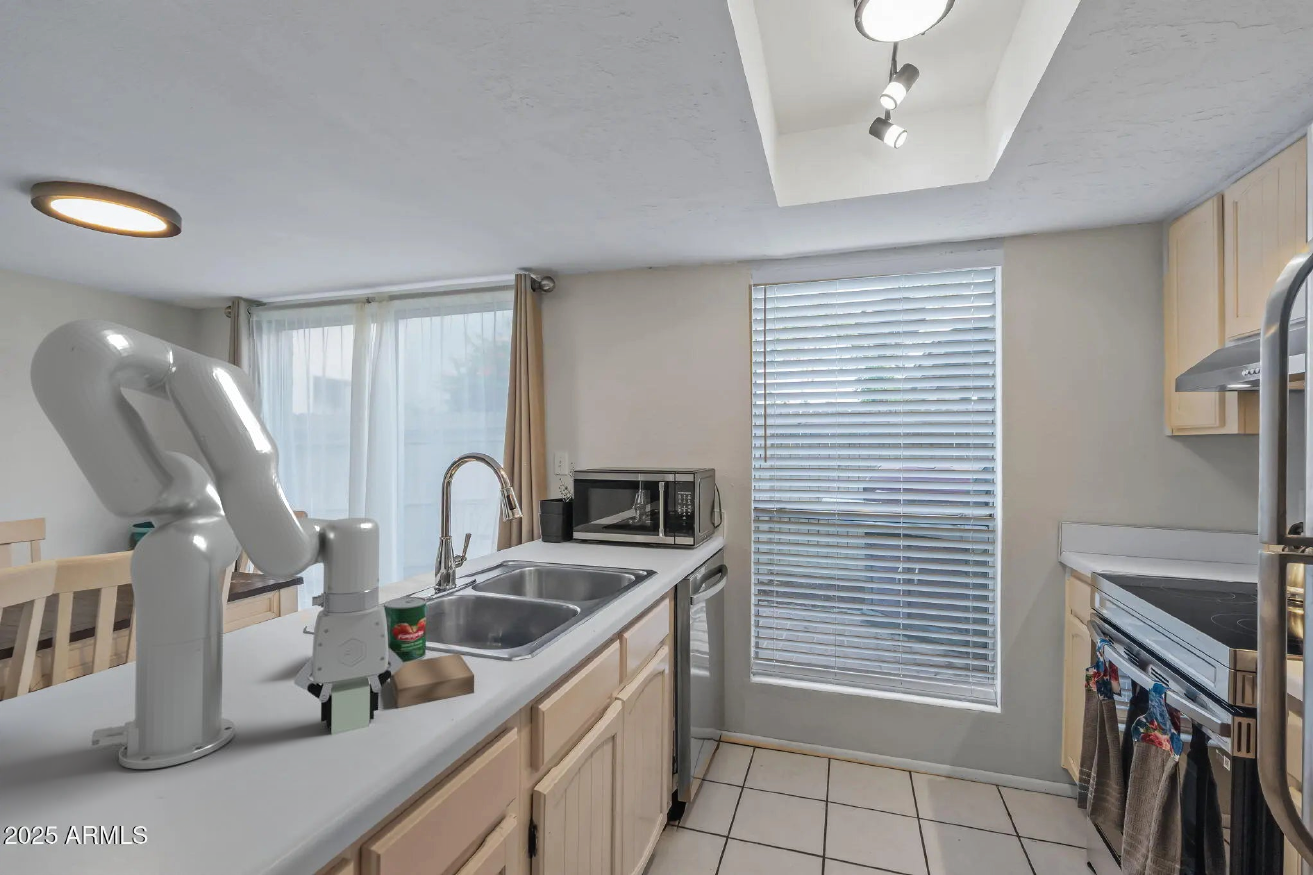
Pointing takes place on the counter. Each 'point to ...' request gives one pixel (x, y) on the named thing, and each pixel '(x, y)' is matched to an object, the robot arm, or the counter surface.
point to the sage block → (350, 705)
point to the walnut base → (431, 680)
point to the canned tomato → (406, 627)
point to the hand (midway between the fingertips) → (350, 718)
